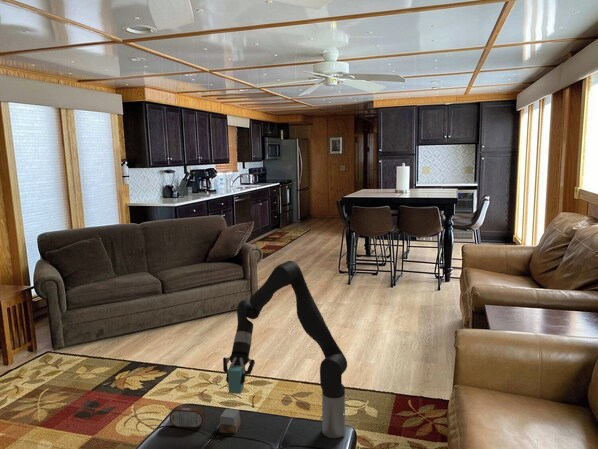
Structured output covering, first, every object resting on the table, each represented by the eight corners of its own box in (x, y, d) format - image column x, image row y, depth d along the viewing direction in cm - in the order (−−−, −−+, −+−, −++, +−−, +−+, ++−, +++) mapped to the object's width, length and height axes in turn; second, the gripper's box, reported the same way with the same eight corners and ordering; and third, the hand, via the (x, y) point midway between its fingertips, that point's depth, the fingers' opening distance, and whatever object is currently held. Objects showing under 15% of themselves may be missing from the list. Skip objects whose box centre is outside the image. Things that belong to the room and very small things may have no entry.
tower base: (240, 424, 196) (240, 416, 196) (236, 434, 189) (235, 426, 189) (224, 423, 197) (224, 415, 196) (219, 432, 190) (219, 425, 190)
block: (243, 388, 193) (243, 365, 192) (240, 394, 188) (240, 371, 187) (232, 387, 194) (231, 364, 192) (228, 393, 189) (228, 370, 188)
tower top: (239, 417, 195) (239, 410, 194) (234, 425, 189) (233, 417, 188) (226, 416, 196) (226, 408, 196) (220, 423, 190) (220, 416, 190)
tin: (205, 425, 195) (205, 406, 194) (203, 429, 192) (202, 410, 191) (171, 423, 197) (170, 405, 196) (169, 427, 194) (168, 409, 193)
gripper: (224, 339, 197) (215, 379, 187) (256, 341, 195) (250, 381, 185) (228, 346, 203) (220, 385, 193) (259, 348, 201) (253, 387, 191)
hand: (234, 383), depth 189 cm, fingers closed on block, 5 cm apart
